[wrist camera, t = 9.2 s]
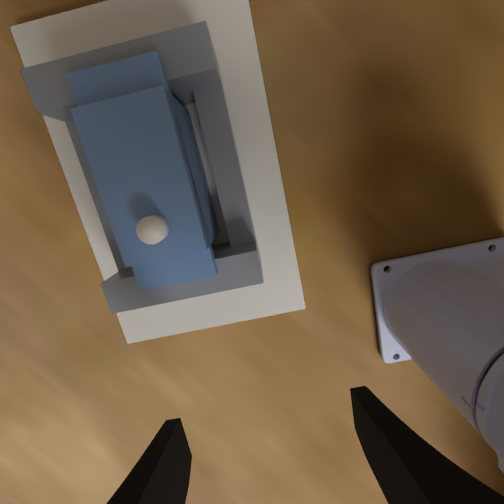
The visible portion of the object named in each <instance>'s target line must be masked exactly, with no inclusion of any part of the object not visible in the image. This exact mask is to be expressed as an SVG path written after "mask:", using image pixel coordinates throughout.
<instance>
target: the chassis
mask: <svg viewBox="0 0 504 504" xmlns="http://www.w3.org/2000/svg"><path fill="white" fill-rule="evenodd" d="M10 29H11V32H12V34H13V37H14V40H15V42H16V45H17V48H18V51H19V53H20V56H21V59H22V61H23V64H24V67H25V68H22V69H20V71H21V74H22V76H23V79H24V81H25V84H26V87H27V89H28V92H29V95H30V97H31V100H32V103H33V105H34V108H35V111H36V113H38V114H41V115H43V118H44V120H45V123H46V126H47V128H48V131H49V134H50V136H51V139H52V142H53V145H54V147H55V150H56V153H57V155H58V158H59V161H60V163H61V166H62V169H63V171H64V174H65V177H66V179H67V182H68V185H69V188H70V190H71V193H72V196H73V198H74V201H75V204H76V206H77V209H78V212H79V214H80V217H81V220H82V222H83V225H84V228H85V231H86V233H87V236H88V239H89V241H90V244H91V247H92V249H93V252H94V255H95V257H96V260H97V263H98V265H99V268H100V271H101V274H102V276H103V279H104V282H102V283H101V286H102V289H103V291H104V294H105V297H106V299H107V302H108V305H109V307H110V310H111V312H112V314H115V313H116V314H117V316H118V319H119V322H120V325H121V327H122V330H123V333H124V335H125V338H126V341H127V343H128V344H129V343H134V342H139V341H144V340H149V339H155V338H160V337H165V336H170V335H175V334H180V333H185V332H190V331H195V330H200V329H205V328H210V327H215V326H220V325H226V324H231V323H236V322H241V321H246V320H251V319H256V318H261V317H266V316H271V315H276V314H281V313H286V312H292V311H297V310H302V309H306V308H305V303H304V297H303V292H302V286H301V281H300V276H299V270H298V265H297V260H296V254H295V249H294V243H293V238H292V233H291V227H290V222H289V216H288V211H287V206H286V200H285V195H284V189H283V184H282V179H281V173H280V168H279V162H278V157H277V152H276V146H275V141H274V136H273V130H272V125H271V119H270V114H269V109H268V103H267V98H266V92H265V87H264V82H263V76H262V71H261V65H260V60H259V55H258V49H257V44H256V38H255V33H254V28H253V22H252V17H251V12H250V6H249V1H248V0H107V1H103V2H99V3H96V4H92V5H88V6H85V7H81V8H77V9H74V10H70V11H66V12H62V13H59V14H55V15H51V16H48V17H44V18H40V19H37V20H33V21H29V22H25V23H22V24H18V25H14V26H11V27H10ZM153 51H158V53H159V54H160V55H161V57H162V60H163V64H164V68H165V72H166V75H167V79H168V83H169V87H170V91H171V94H172V95H173V97H174V98H175V99H176V100H177V101H178V102H179V103H180V104H181V105H182V106H183V107H184V108H185V109H186V110H187V111H188V113H189V114H190V116H191V120H192V124H193V128H194V132H195V136H196V139H197V143H198V147H199V151H200V155H201V159H202V163H203V167H204V171H205V175H206V179H207V183H208V187H209V191H210V195H211V199H212V203H213V207H214V211H215V215H216V219H217V223H218V227H219V233H218V234H217V236H216V237H215V239H214V240H213V242H212V243H211V246H212V250H213V254H214V258H215V261H216V265H217V269H218V273H217V276H212V277H207V278H202V279H197V280H193V281H188V282H183V283H178V284H174V285H169V286H164V287H159V288H154V289H150V290H145V291H140V289H139V286H138V283H137V281H136V278H135V275H134V272H133V269H132V266H130V267H125V265H124V262H123V259H122V257H121V254H120V251H119V248H118V245H117V242H116V239H115V237H114V234H113V231H112V228H111V225H110V222H109V219H108V216H107V214H106V211H105V208H104V205H103V202H102V199H101V196H100V194H99V191H98V188H97V185H96V182H95V179H94V176H93V174H92V171H91V168H90V165H89V162H88V159H87V156H86V154H85V151H84V148H83V145H82V142H81V139H80V136H79V134H78V131H77V128H76V125H75V122H74V119H73V116H72V114H71V111H70V109H71V108H75V107H77V106H76V103H75V100H74V97H73V94H72V91H71V88H70V85H69V83H68V80H67V77H66V74H68V73H72V72H76V71H80V70H84V69H88V68H91V67H95V66H99V65H103V64H107V63H111V62H115V61H118V60H122V59H126V58H130V57H134V56H138V55H142V54H145V53H149V52H153Z"/></svg>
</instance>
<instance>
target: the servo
mask: <svg viewBox="0 0 504 504" xmlns="http://www.w3.org/2000/svg"><path fill="white" fill-rule="evenodd" d="M66 77H67V80H68V83H69V85H70V88H71V91H72V94H73V97H74V100H75V103H76V106H77V107H75V108H71V109H70V111H71V114H72V116H73V119H74V122H75V125H76V128H77V131H78V134H79V136H80V139H81V142H82V145H83V148H84V151H85V154H86V156H87V159H88V162H89V165H90V168H91V171H92V174H93V176H94V179H95V182H96V185H97V188H98V191H99V194H100V196H101V199H102V202H103V205H104V208H105V211H106V214H107V216H108V219H109V222H110V225H111V228H112V231H113V234H114V237H115V239H116V242H117V245H118V248H119V251H120V254H121V257H122V259H123V262H124V265H125V267H130V266H132V269H133V272H134V275H135V278H136V281H137V283H138V286H139V289H140V291H145V290H150V289H154V288H159V287H164V286H169V285H174V284H178V283H183V282H188V281H193V280H197V279H202V278H207V277H212V276H217V273H218V269H217V265H216V261H215V258H214V254H213V250H212V246H211V243H212V242H213V240H214V239H215V237H216V236H217V234H218V233H219V227H218V223H217V219H216V215H215V211H214V207H213V203H212V199H211V195H210V191H209V187H208V183H207V179H206V175H205V171H204V167H203V163H202V159H201V155H200V151H199V147H198V143H197V139H196V136H195V132H194V128H193V124H192V120H191V116H190V114H189V113H188V111H187V110H186V109H185V108H184V107H183V106H182V105H181V104H180V103H179V102H178V101H177V100H176V99H175V98H174V97H173V95H172V94H171V91H170V87H169V83H168V79H167V75H166V72H165V68H164V64H163V60H162V57H161V55H160V54H159V53H158V51H153V52H149V53H145V54H142V55H138V56H134V57H130V58H126V59H122V60H118V61H115V62H111V63H107V64H103V65H99V66H95V67H91V68H88V69H84V70H80V71H76V72H72V73H68V74H66Z"/></svg>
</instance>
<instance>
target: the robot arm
mask: <svg viewBox="0 0 504 504" xmlns="http://www.w3.org/2000/svg"><path fill="white" fill-rule="evenodd" d="M490 245H491V249H490V250H488V248H489V246H490ZM385 266H389V268H388V270H387V271H384V267H385ZM371 277H372V286H373V294H374V303H375V311H376V320H377V328H378V337H379V345H380V354H381V358H382V360H383V361H384V362H385V363H394V362H400V361H405V360H411V359H413V360H414V361H415V363H416V364H417V365H418V366H419V367H420V368H421V369H422V370H423V371H424V373H425V374H426V375H427V376H428V377H429V378H430V379H431V380H432V382H433V383H434V384H435V385H436V386H437V387H438V388H439V389H440V390H441V392H442V393H443V394H444V395H445V396H446V397H447V398H448V399H449V401H450V402H451V403H452V404H453V405H454V406H455V407H456V408H457V409H458V411H459V412H460V413H461V414H462V415H463V416H464V417H465V418H466V420H467V421H468V422H469V423H470V424H471V425H472V426H473V427H474V428H475V430H476V431H477V432H478V433H479V434H480V435H481V436H482V437H483V439H484V440H485V441H486V442H487V443H488V444H489V445H490V446H491V447H492V449H493V450H494V451H495V452H496V454H497V456H498V467H499V468H500V470H501V471H502V472H503V473H504V237H500V238H495V239H491V240H486V241H481V242H476V243H471V244H466V245H461V246H456V247H451V248H446V249H441V250H436V251H432V252H427V253H422V254H417V255H412V256H407V257H402V258H397V259H392V260H387V261H382V262H378V263H375V264H374V265H372V267H371ZM394 354H397V355H396V356H394V357H393V355H394ZM350 391H351V400H352V408H353V416H354V425H355V430H356V432H357V435H358V438H359V441H360V443H361V446H362V449H363V451H364V454H365V456H366V458H367V461H368V463H369V465H370V467H371V469H372V471H373V473H374V475H375V477H376V479H377V481H378V483H379V485H380V487H381V489H382V491H383V493H384V496H385V498H386V500H387V502H388V504H504V496H502V495H501V494H499V493H498V492H496V491H494V490H493V489H491V488H490V487H488V486H486V485H485V484H483V483H482V482H480V481H479V480H477V479H476V478H474V477H473V476H472V475H470V474H469V473H467V472H466V471H464V470H463V469H461V468H460V467H459V466H457V465H456V464H455V463H453V462H452V461H450V460H449V459H448V458H446V457H445V456H444V455H442V454H441V453H440V452H439V451H437V450H436V449H435V448H433V447H432V446H431V445H430V444H429V443H427V442H426V441H425V440H424V439H422V438H421V437H420V436H419V435H418V434H416V433H415V432H414V431H413V430H412V429H411V428H409V427H408V426H407V425H406V424H405V423H404V422H403V421H401V420H400V419H399V418H398V417H397V416H396V415H395V414H394V413H393V412H392V411H391V410H389V409H388V408H387V407H386V406H385V405H384V404H383V403H382V402H381V401H380V400H379V399H378V398H377V397H376V396H375V395H374V394H373V393H372V392H371V391H370V390H369V389H368V388H367V387H366V386H362V387H356V388H350ZM191 459H192V454H191V451H190V448H189V445H188V442H187V438H186V435H185V432H184V429H183V426H182V422H181V419H180V418H177V419H171V420H166V421H165V423H164V424H163V425H162V427H161V428H160V430H159V431H158V433H157V434H156V436H155V437H154V439H153V440H152V442H151V443H150V445H149V446H148V448H147V449H146V451H145V452H144V453H143V455H142V456H141V458H140V459H139V461H138V462H137V463H136V465H135V466H134V468H133V469H132V471H131V472H130V473H129V475H128V476H127V477H126V479H125V480H124V481H123V483H122V484H121V485H120V487H119V488H118V489H117V491H116V492H115V493H114V495H113V496H112V497H111V499H110V500H109V501H108V502H107V504H185V501H186V496H187V491H188V486H189V478H190V470H191Z"/></svg>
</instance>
